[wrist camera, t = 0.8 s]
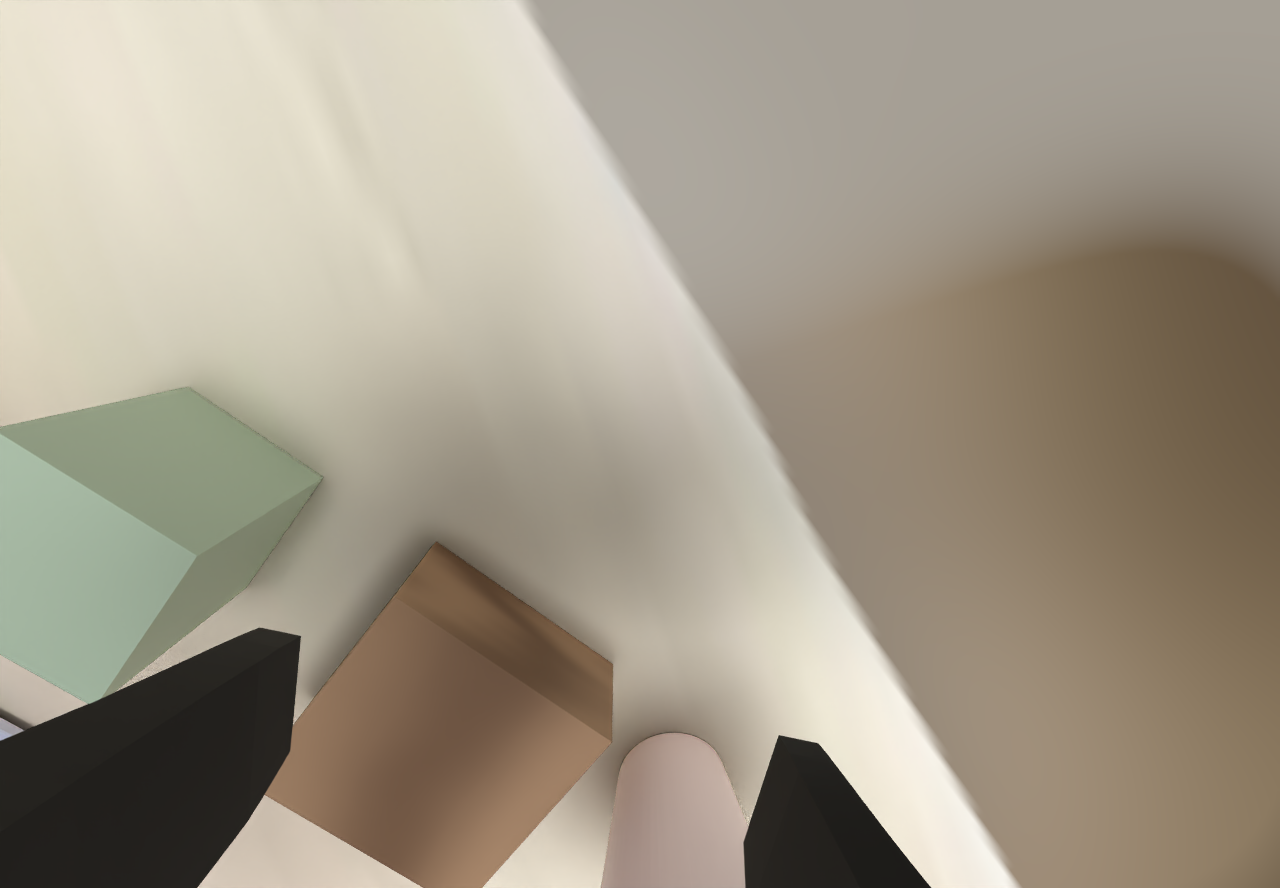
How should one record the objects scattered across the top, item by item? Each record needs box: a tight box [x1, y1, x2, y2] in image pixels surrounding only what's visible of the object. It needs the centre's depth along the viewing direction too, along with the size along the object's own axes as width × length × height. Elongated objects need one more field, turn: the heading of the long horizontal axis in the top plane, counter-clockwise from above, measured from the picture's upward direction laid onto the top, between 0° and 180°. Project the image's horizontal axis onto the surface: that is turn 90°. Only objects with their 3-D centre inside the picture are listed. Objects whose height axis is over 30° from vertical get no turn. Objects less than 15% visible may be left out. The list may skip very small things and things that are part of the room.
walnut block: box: [264, 542, 613, 888], centre depth 19 cm, size 7×7×4 cm
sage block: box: [0, 387, 323, 704], centre depth 16 cm, size 4×4×6 cm
